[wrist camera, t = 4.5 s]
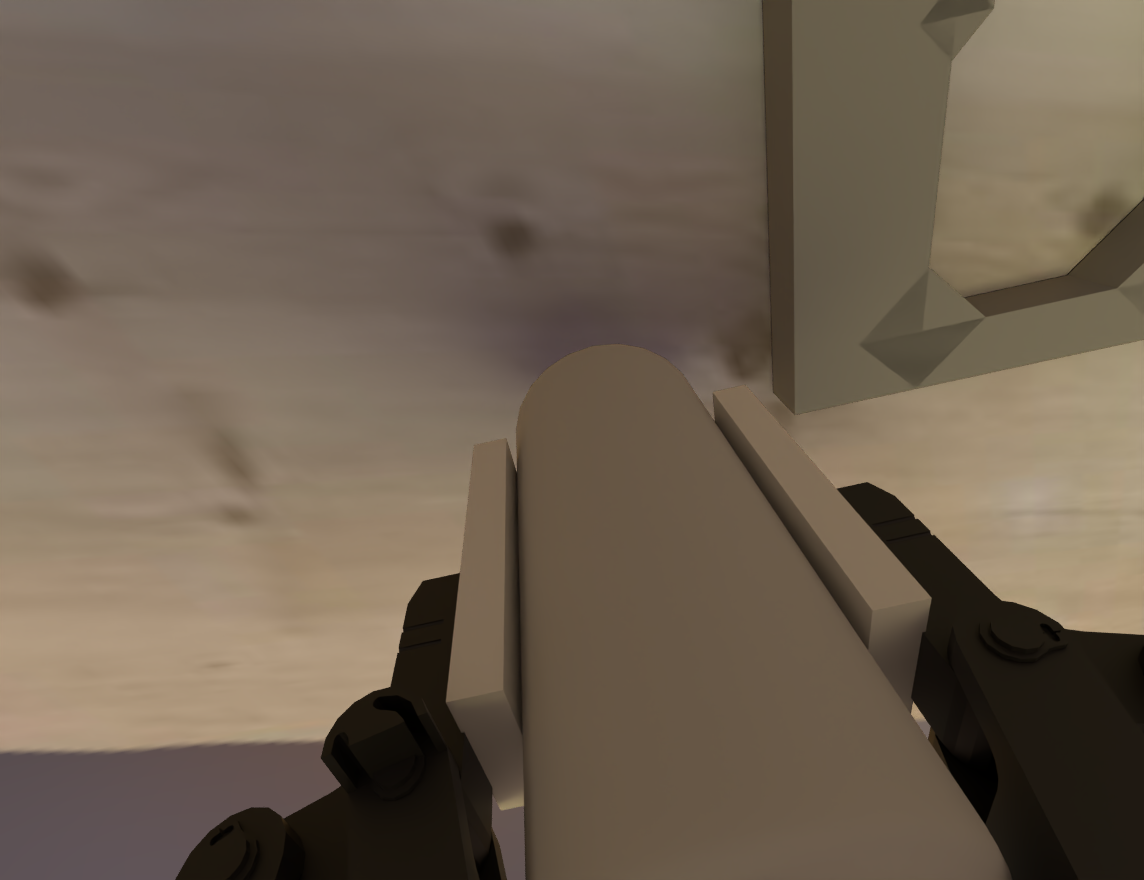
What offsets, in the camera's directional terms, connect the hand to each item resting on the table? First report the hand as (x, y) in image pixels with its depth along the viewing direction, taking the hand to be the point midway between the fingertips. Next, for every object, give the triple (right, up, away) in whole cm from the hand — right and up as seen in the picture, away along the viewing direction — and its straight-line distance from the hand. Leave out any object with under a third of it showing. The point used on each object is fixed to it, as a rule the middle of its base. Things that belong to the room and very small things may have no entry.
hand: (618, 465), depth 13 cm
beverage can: (0, +1, +2) cm, 3 cm away
